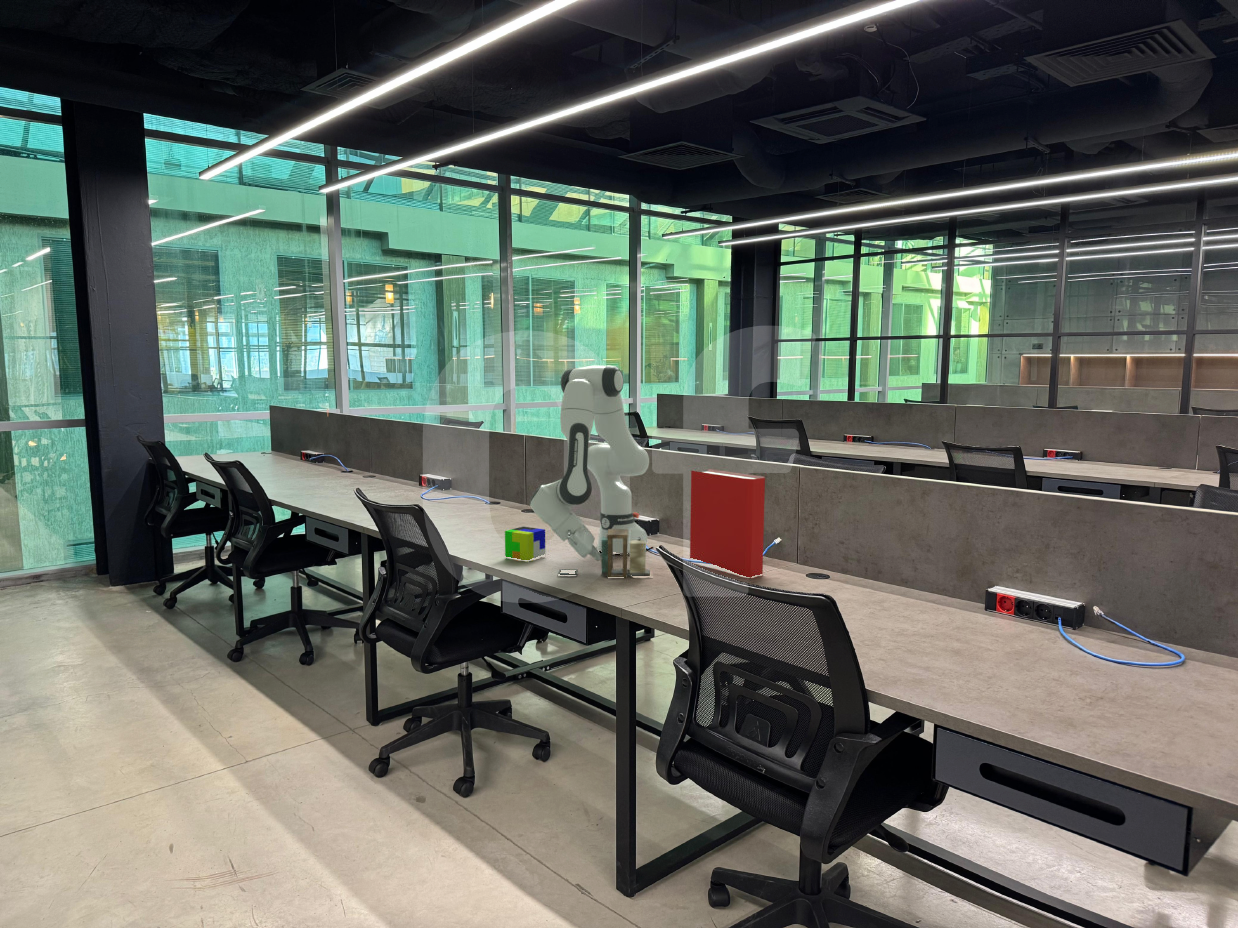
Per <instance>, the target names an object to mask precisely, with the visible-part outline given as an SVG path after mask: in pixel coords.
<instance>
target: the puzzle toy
mask: <svg viewBox="0 0 1238 928" xmlns="http://www.w3.org/2000/svg"><path fill="white" fill-rule="evenodd" d="M544 554H545V555H546V529H545V528H536V527H529V526H519V527H516V528H512V529H511V528H510V529H508V530H504V557H505V556H506V557H511V558H517V559H521V560H530V559H532V558H536V557H538V556H541V555H544Z"/></svg>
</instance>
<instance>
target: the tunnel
mask: <svg viewBox="0 0 1238 928" xmlns="http://www.w3.org/2000/svg"><path fill="white" fill-rule="evenodd" d="M607 538H608V575H607V578H608V577H624V578H627V577H628V575H627V569H628V554H627V538H628V529H608V533H607ZM613 539H623V554H622V569H623V575H612V569H614V568H613V563H614V562H613V559H614V558H613V557H614V554H613ZM627 579H628V578H627Z"/></svg>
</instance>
